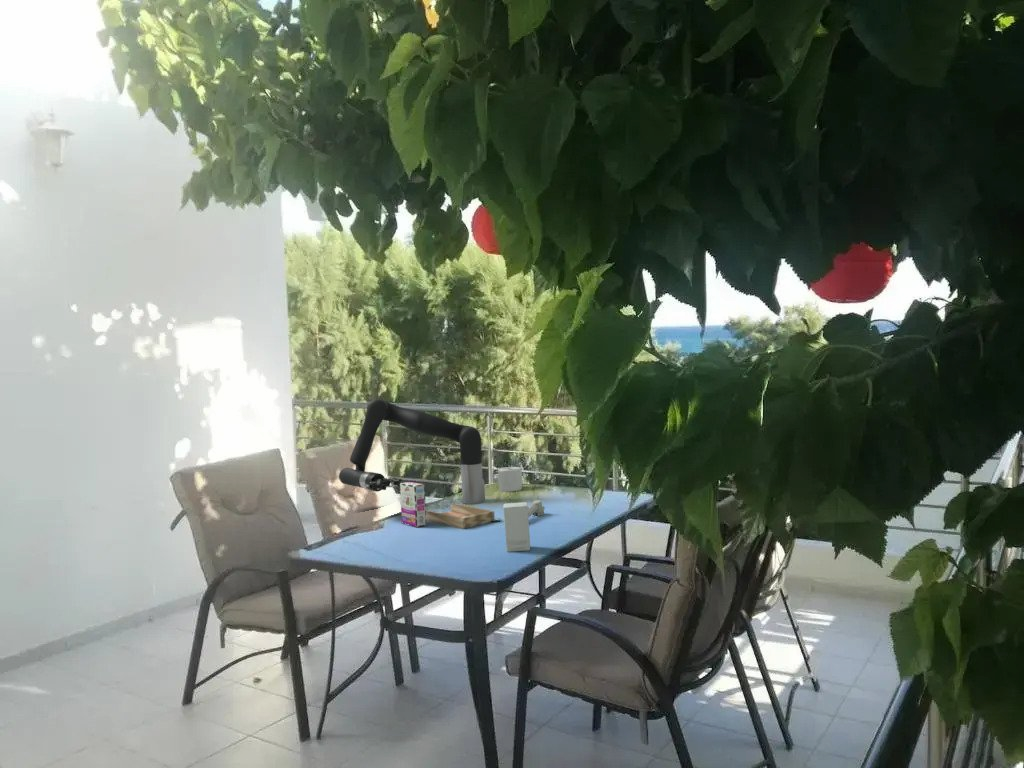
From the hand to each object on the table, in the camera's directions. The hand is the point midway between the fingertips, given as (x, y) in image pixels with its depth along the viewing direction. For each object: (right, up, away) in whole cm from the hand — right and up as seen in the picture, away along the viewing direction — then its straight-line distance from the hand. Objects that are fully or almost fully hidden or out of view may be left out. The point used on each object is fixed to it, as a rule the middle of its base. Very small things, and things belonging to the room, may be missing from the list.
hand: (394, 485), depth 333 cm
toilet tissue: (+47, -9, +55) cm, 73 cm away
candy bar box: (+9, -15, -8) cm, 19 cm away
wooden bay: (+26, -13, -4) cm, 30 cm away
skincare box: (+50, -15, -52) cm, 74 cm away
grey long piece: (+54, -13, -9) cm, 56 cm away
